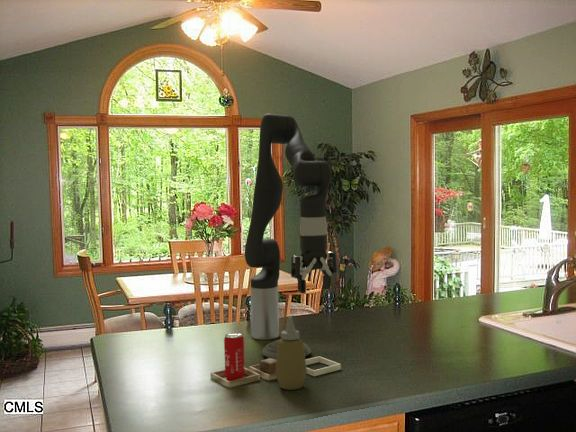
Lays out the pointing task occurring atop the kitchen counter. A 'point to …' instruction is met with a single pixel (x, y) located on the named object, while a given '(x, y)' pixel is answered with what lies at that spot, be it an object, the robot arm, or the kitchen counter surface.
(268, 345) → the flying saucer
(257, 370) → the square wooden frame
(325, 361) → the pen
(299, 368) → the squeeze bottle
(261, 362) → the walnut cube
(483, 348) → the kitchen counter surface
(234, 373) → the beverage can
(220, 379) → the pen
